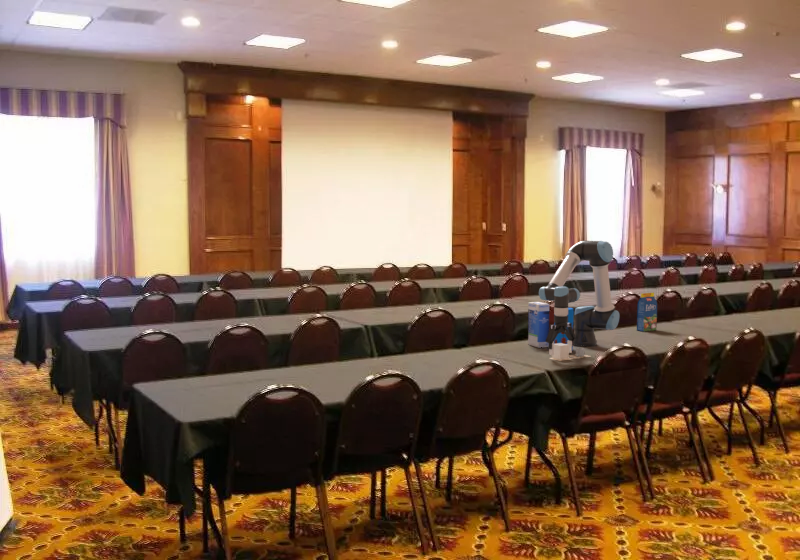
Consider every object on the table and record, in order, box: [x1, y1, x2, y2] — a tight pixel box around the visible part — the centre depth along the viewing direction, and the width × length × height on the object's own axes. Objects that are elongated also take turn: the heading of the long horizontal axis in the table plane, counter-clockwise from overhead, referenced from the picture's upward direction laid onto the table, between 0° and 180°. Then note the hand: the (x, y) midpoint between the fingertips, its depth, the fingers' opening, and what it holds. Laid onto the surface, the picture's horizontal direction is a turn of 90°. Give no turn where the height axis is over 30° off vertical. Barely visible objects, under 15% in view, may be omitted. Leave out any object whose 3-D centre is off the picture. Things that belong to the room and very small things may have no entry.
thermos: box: [553, 307, 575, 351], centre depth 492 cm, size 11×11×25 cm
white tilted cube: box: [551, 343, 570, 361], centre depth 467 cm, size 6×6×8 cm
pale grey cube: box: [575, 347, 585, 357], centre depth 474 cm, size 3×3×4 cm
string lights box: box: [527, 301, 550, 349], centre depth 511 cm, size 13×8×26 cm, turn 20°
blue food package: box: [636, 292, 658, 332], centre depth 569 cm, size 6×12×25 cm, turn 120°
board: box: [548, 353, 591, 362], centre depth 471 cm, size 24×9×1 cm, turn 124°
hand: (560, 353), depth 467 cm, fingers open, 13 cm apart
